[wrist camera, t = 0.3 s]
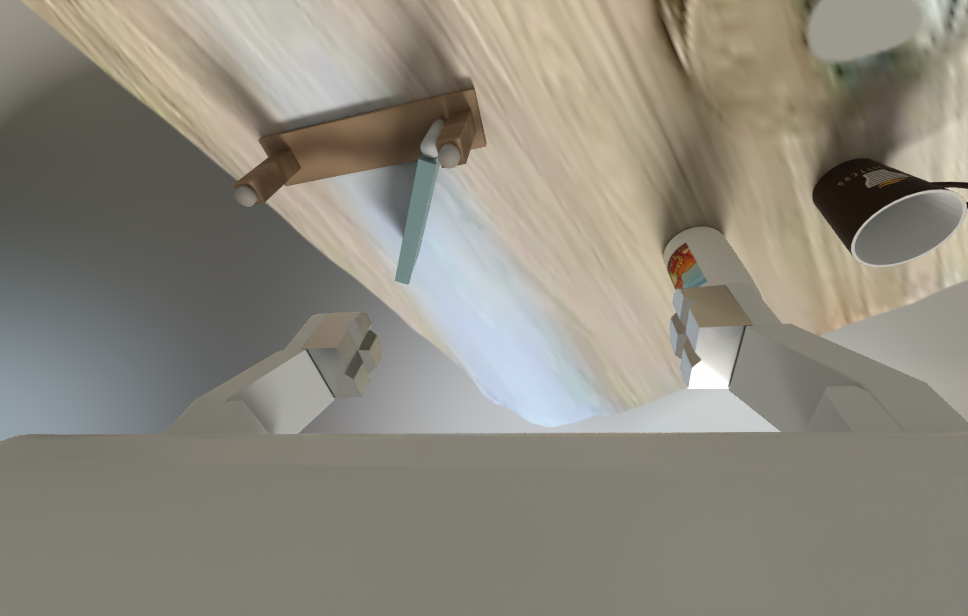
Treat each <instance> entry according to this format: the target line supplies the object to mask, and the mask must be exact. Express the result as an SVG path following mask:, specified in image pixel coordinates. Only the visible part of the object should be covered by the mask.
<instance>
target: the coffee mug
mask: <svg viewBox="0 0 968 616" xmlns="http://www.w3.org/2000/svg"><path fill="white" fill-rule="evenodd" d="M949 187H956V188H966V189H968V183H966V182H931V183H930V182H927V181H925V180H922V179H920V178H917V177H914V176H912V175H909V174H907V173H904V172H901V171H899V170H896V169H894V168H891V167H888V166H886V165H883V164H881V163H878V162H875V161H873V160H870V159H864V158H862V159H854V160H850V161H847V162H844V163H842V164H840V165H838V166H836V167H834V168H833V169H831V170H830V171H829V172H827V173H826V174H825V175H824V176H823V177H822V178H821V179H820V180H819V182H818V183H817V185H816V187H815V189H814V191H813V202H814V204H815V205H816V207H817V208H818V209H819V211H820V212H821V214H822V215H823V216H824V218H825V219H826V220H827V222H828V223H829V224H830V226H831V227H832V229H833V230H834V231H835V233H836V234H837V235H838V237H839V238H840V240H841V241H842V242H843V244H844V245H845V246H846V248H847V249H848V250H849V252H850V253H851V255H852V256H853V257H854V258H855V260H856V261H857V262H859V263H861V264H863V265H866V266H870V267H889V266H895V265H899V264H903V263H907V262H909V261H912V260H915V259H917V258H919V257H921V256H923V255H925V254H928V253H929V252H931V251H933V250H934V249H936V248H937V247H939V246H940V245H942V244H943V243H944V242H946V241H947V240H948V239H949V238H950V237H951V236H952V235H953V234H954V233H955V232H956V231H957V230H958V228H959V227H960V226H961V224H962V223H963V221H964V219H965V216H966V212H967V208H968V202H966V201H965V200H964V198H963V197H962V196H961V195H959V194H958V193H956V192H953V191H951V190H948V189H946V188H949Z"/></svg>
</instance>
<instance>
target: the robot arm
mask: <svg viewBox="0 0 968 616" xmlns="http://www.w3.org/2000/svg"><path fill="white" fill-rule="evenodd" d="M673 305H674V308H675V310H676V313H675V314H674V315H673V316H672V317H671V321H670V340H671V344H672V348H673V351H674V353H675V355H676V356H678V357H679V358H681V366H680V369H681V371H682V374H683V376H684V378H685V381H686V383H687V386H688V388H689V389H691V388H692V389H729V391H731V392H732V393H733V394H734V395H736V396H737V397H738V398H739V399H741V400H742V401H743V402H744V403H746V404H747V405H748V406H750V407H751V408H752V409H753V410H754V411H756V412H757V413H758V414H759V415H761V416H762V417H763V418H764V419H766V420H767V421H768V422H769V423H771V424H772V425H773V426H774V427H776V428H777V429H778V430H779V431H781V432H721V433H720V432H718V433H717V432H711V433H710V432H707V433H428V434H427V433H422V434H421V433H418V434H417V433H415V434H414V433H413V434H412V433H411V434H298V433H299V432H300V431H301V430H302V429H303V428H304V427H305V426H306V425H307V424H309V423H310V422H311V421H312V420H313V419H314V418H315V417H316V416H317V415H318V414H319V413H321V412H322V411H323V410H324V409H325V408H326V407H327V406H328V405H329V404H330V403H331V402H332V401H334V398H346V397H362V396H363V394H364V392H365V390H366V388H367V386H368V384H369V382H370V380H371V377H370V375H369V373H370V372H371V371H372V370H374V369H375V368H376V367H377V365H378V363H379V361H380V356H381V347H380V342H379V339H378V337H377V335H376V334H374V333H373V332H372V331H370V327H371V324H372V323H371V321H370V319H369V317H368V315H367V314H366V313H364V312H346V313H332V314H330V313H327V314H316V315H313V316H311V318H310V319H309V320H308V321H307V322H306V324H305V325H304V326H303V327H302V329H301V330H300V331H299V332H298V334H297V335H296V336H295V337H294V339H293V340H292V341H291V342H290V344H289V345H288V346H287V347H286V349H285V350H284V351H278V352H276V353H275V354H273V355H272V356H270V357H268V358H266V359H265V360H263V361H261V362H260V363H258V364H256V365H254V366H252V367H251V368H249V369H247V370H246V371H244V372H242V373H241V374H239V375H237V376H235V377H234V378H232V379H230V380H229V381H227V382H225V383H224V384H222V385H220V386H219V387H217V388H215V389H213V390H212V391H210V392H208V393H207V394H205V395H203V396H201V397H200V398H198V399H196V400H195V401H194V402H193V403H192V404H191V405H190V406H189V407H188V408H187V409H186V410H185V411H184V413H183V414H182V415H181V416H180V417H179V418H178V419H177V420H176V421H175V422H174V423H173V424H172V425H171V427H170V428H169V429H168V430H167V431H166V432H165V433H164V434H123V435H122V434H119V435H118V434H114V435H113V434H110V435H109V434H103V435H102V434H99V435H98V434H94V435H93V434H92V435H91V434H88V435H87V434H85V435H84V434H83V435H82V434H81V435H55V434H50V435H49V434H28V435H20V436H15V437H11V438H8V439H6V440H3V441H0V616H968V422H967V421H966V420H965V419H964V418H963V417H962V416H961V415H960V414H958V413H957V412H956V411H955V410H954V409H953V408H952V407H951V406H950V405H949V404H948V403H947V402H946V401H945V400H944V399H943V398H942V397H940V396H939V395H938V394H937V393H936V392H935V391H934V390H933V389H932V388H931V387H930V386H929V385H928V384H927V383H925V382H923V381H920V380H918V379H916V378H914V377H911V376H909V375H907V374H904V373H902V372H900V371H898V370H895V369H893V368H891V367H888V366H886V365H884V364H882V363H879V362H877V361H875V360H872V359H870V358H868V357H865V356H863V355H861V354H859V353H856V352H854V351H852V350H849V349H847V348H845V347H843V346H840V345H838V344H836V343H833V342H831V341H829V340H827V339H824V338H822V337H820V336H817V335H815V334H813V333H810V332H808V331H806V330H804V329H801V328H799V327H797V326H794V325H792V324H782V323H781V322H780V320H779V319H778V318H777V317H776V315H775V314H774V313H773V312H772V311H771V309H770V308H769V307H768V306H767V304H766V303H765V302H764V301H763V299H762V298H761V297H760V296H759V294H758V293H757V292H756V291H755V289H754V288H753V287H752V286H751V285H750V284H749V283H746V282H742V283H733V284H723V285H717V286H705V287H694V288H683V289H676V290H675V293H674V297H673Z"/></svg>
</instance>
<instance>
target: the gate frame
mask: <svg viewBox="0 0 968 616" xmlns="http://www.w3.org/2000/svg"><path fill="white" fill-rule="evenodd" d="M438 119H442V120H444V121H446V123H445V125H444V127H443V128H442V130H441V132H440V134H439V136H438V138H437V140H436V142H435V146H436V149H437V153H438V159H439V162H440V164H441V166H442V168H454V167H456V166H457V165H462V164H466V162H467V158H468V155H469V152H470V150H471V149H476V148H481V147H486V139H485V135H484V130H483V125H482V121H481V116H480V111H479V107H478V102H477V98H476V93H475V88H470V89H465V90H461V91H457V92H453V93H448V94H444V95H440V96H435V97H431V98H427V99H423V100H418V101H414V102H410V103H406V104H401V105H397V106H393V107H388V108H384V109H380V110H376V111H371V112H367V113H363V114H359V115H354V116H350V117H346V118H341V119H337V120H333V121H329V122H324V123H320V124H316V125H312V126H307V127H303V128H299V129H294V130H290V131H286V132H282V133H277V134H273V135H269V136H265V137H262V138H260V139H259V142H260V144H261V145H262V147H263V149H264V150H265V152H266V154H267V156H268V158H267V159H266V160H265V161H263V162H262V163H261V164H259V165H258V166H257V167H256V168H254V169H253V170H252V171H250V172H249V173H248V174H246V175H245V176H244V177H243V178H241V179H240V180H239V181H237V182H236V183H235V184H233V186H234V188H235V189H236V190H235V192H234V196H235V198H236V200H237V201H238V202H239V203H240V204H242V205H244V206H252V205H253V204H256V203H262V202H266V201H267V200H268V199H269V198H270V197H271V196H272V195H273V194H274V193H275V192H276V191H277V190H278V189H280V188H281V187H282V186H283V185H284V184H285V186H289V185H294V184H299V183H304V182H309V181H314V180H319V179H324V178H330V177H335V176H340V175H345V174H350V173H355V172H360V171H365V170H370V169H375V168H380V167H385V166H390V165H395V164H400V163H405V162H410V161H415V160H418V158H419V157H420V156H422V154H423V153H422V151H421V143H422V141H423V139H424V138H425V136H426V134H427V133H428V131H429V129H430V128H431V126H432V124H433V123H434V121H436V120H438Z"/></svg>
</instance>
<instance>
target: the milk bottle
mask: <svg viewBox="0 0 968 616" xmlns="http://www.w3.org/2000/svg"><path fill="white" fill-rule="evenodd" d="M663 259H664V263H665V266H666V268H667V271H668V273H669V276H670V278H671V281H672V283H673V285H674V288H675V290H676V289H683V288H694V287H705V286H717V285H723V284H733V283H742V282H746V283H749V284H750V285H751V286H752V287H753V288H754V289H755V291H756V292H757V293H758V294H759V296H760V297H761V294H760V292H759V290H758V288H757V286H756V285H755V283H754V281H753V279H752V278H751V276H750V275H749V273H748V272H747V270H746V268H745V267H744V265H743V264H742V262H741V261H740V259H739V258H738V256H737V255H736V253H735V252H734V250H733V249H732V247H731V246H730V244H729V243H728V241H727V240H726V238H725V237H724V236H723V235H722V233H721V232H719V231H718V230H716V229H714V228H710V227H704V226H701V227H693V228H689V229H686V230H684V231H682V232H680V233H679V234H677V235H676V236H674V237H673V238H672V239H671V240H670V242H669V243H668V244H667V246H666V248H665V251H664V256H663ZM761 298H762V297H761Z"/></svg>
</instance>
